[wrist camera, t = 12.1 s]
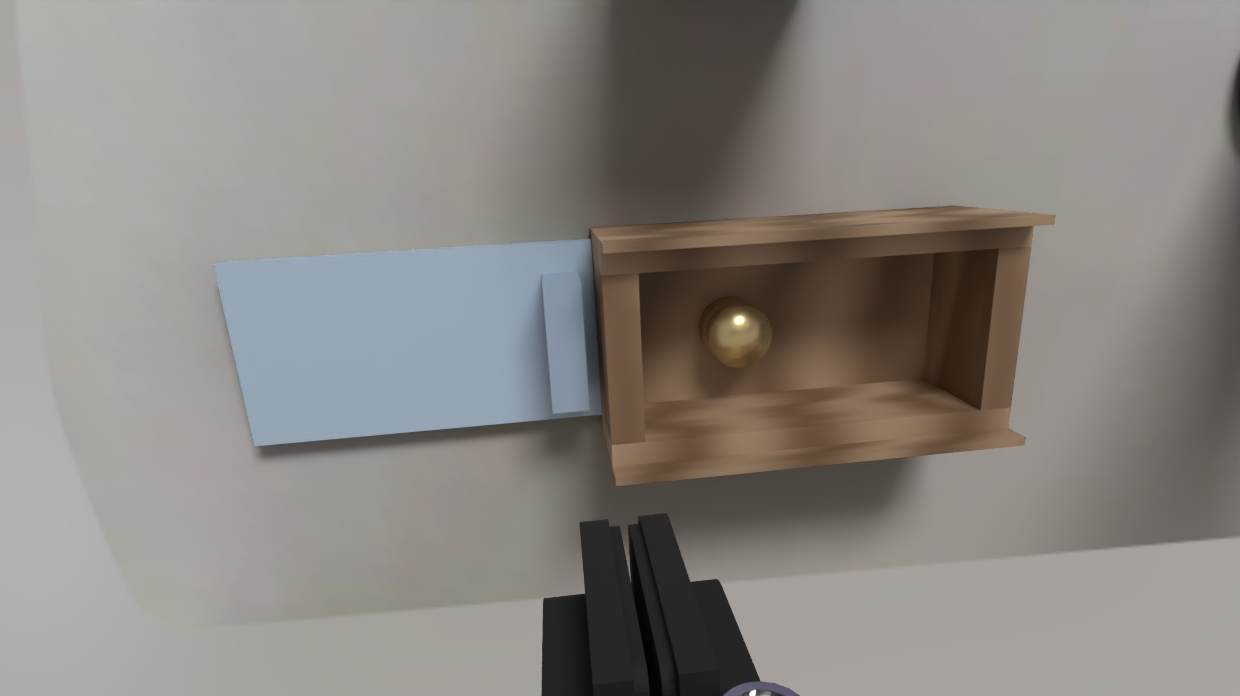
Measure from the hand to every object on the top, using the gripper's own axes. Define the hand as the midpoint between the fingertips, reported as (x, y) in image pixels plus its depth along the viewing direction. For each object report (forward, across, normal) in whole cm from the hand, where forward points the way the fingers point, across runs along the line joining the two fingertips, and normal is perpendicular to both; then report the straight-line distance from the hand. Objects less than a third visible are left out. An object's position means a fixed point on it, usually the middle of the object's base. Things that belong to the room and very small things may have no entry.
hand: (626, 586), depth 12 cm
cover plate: (+24, +8, +1) cm, 25 cm away
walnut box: (+23, -11, +1) cm, 26 cm away
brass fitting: (+22, -8, +1) cm, 24 cm away
